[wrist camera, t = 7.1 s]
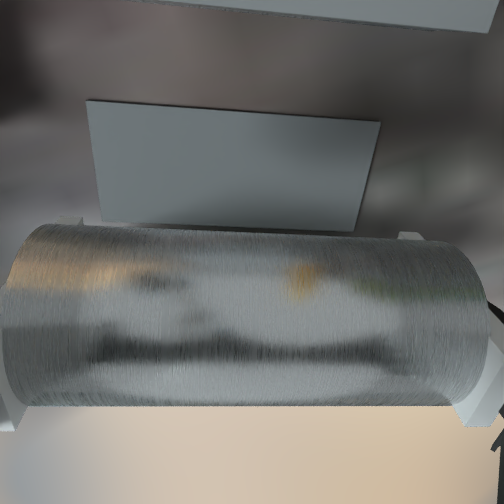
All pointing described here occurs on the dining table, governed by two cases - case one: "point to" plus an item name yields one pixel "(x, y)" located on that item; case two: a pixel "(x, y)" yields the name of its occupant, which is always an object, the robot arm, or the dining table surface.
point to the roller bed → (277, 15)
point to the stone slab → (374, 11)
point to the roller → (240, 319)
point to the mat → (228, 167)
